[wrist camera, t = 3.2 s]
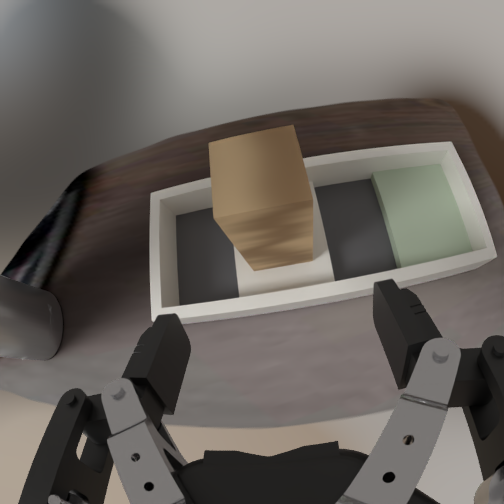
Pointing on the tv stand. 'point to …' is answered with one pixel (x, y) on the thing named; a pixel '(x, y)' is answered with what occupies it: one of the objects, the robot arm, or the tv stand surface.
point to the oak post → (263, 197)
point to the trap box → (324, 236)
